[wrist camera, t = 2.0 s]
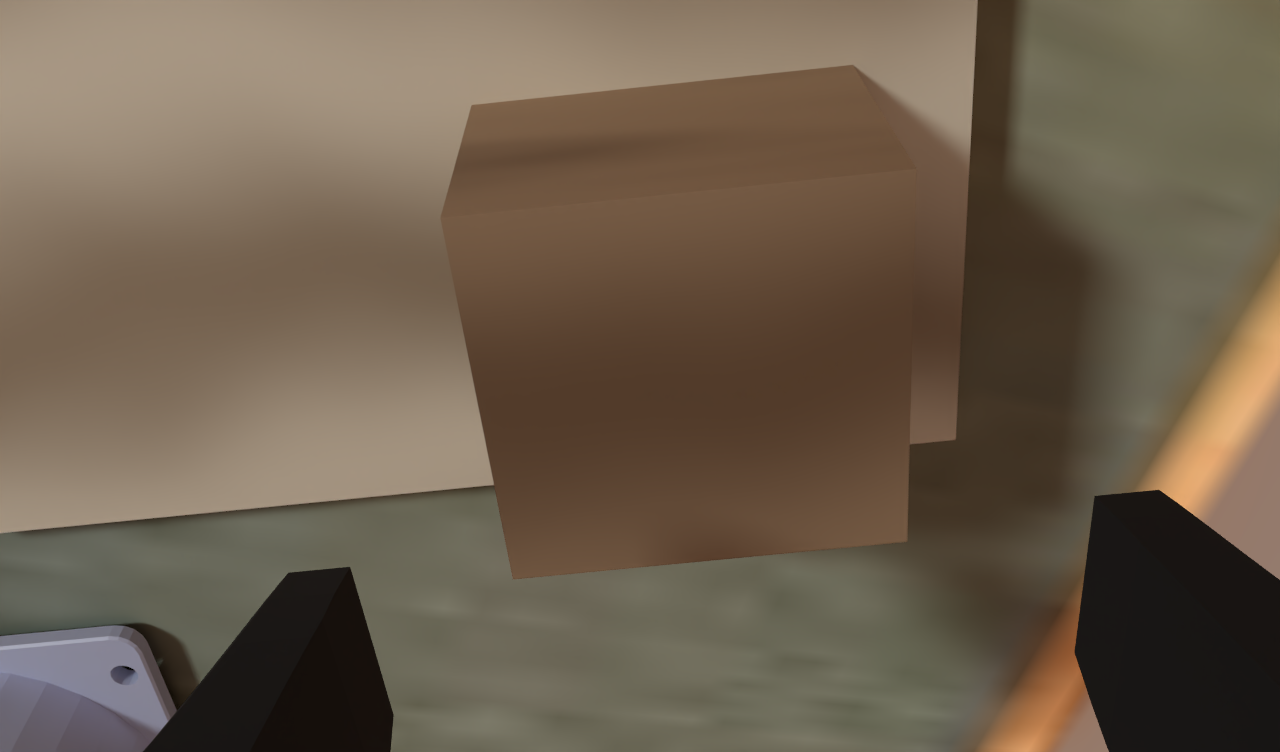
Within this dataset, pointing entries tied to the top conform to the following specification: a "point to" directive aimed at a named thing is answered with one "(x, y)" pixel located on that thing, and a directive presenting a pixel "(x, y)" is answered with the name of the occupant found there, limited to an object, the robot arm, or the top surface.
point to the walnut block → (688, 318)
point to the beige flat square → (345, 225)
